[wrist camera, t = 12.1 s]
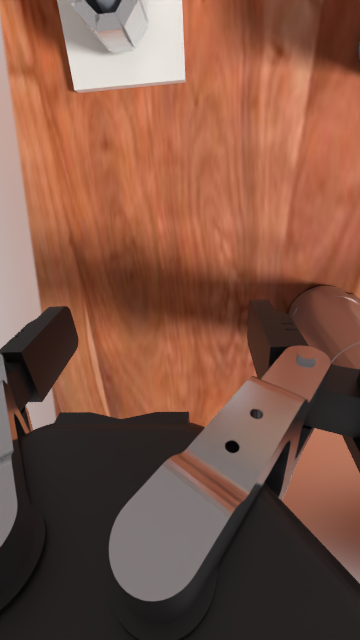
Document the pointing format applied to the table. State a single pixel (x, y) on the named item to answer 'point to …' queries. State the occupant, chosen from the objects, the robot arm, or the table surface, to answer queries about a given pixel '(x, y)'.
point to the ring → (115, 23)
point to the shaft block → (127, 67)
